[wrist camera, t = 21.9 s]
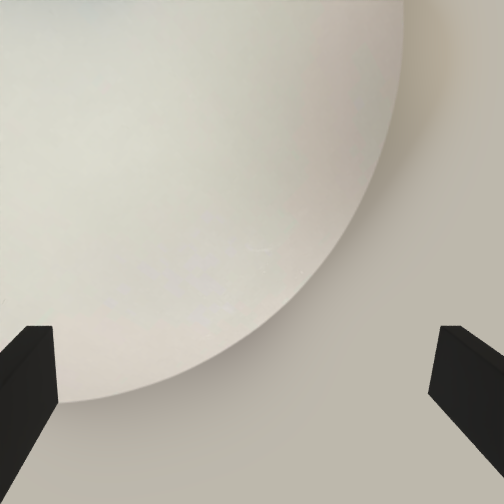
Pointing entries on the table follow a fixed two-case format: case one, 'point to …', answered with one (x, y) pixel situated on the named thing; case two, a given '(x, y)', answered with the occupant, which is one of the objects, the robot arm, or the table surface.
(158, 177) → the table surface
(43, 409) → the robot arm
